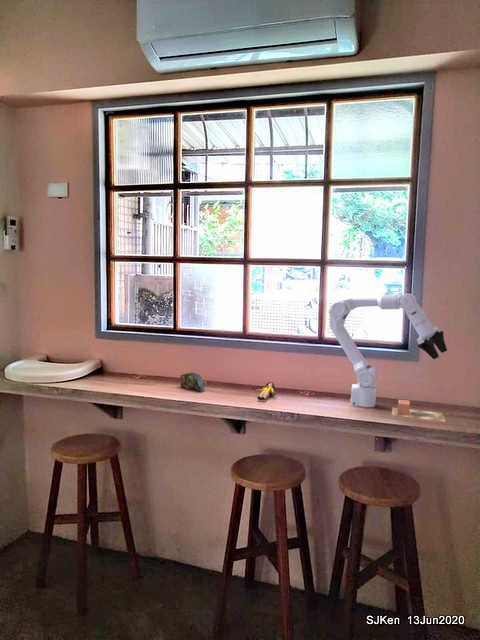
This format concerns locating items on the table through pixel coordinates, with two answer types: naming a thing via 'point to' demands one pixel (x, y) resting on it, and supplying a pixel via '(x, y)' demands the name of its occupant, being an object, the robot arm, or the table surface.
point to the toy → (266, 391)
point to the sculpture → (192, 381)
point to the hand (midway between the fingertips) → (440, 354)
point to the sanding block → (403, 407)
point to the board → (420, 414)
